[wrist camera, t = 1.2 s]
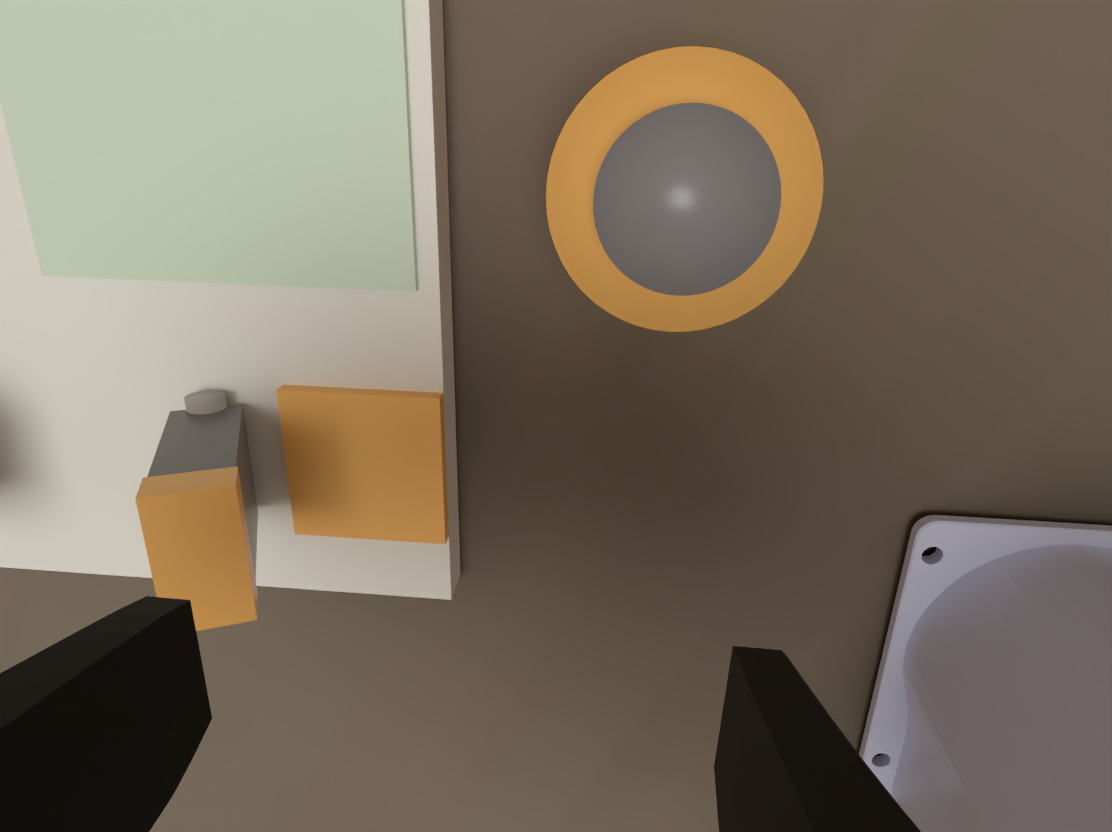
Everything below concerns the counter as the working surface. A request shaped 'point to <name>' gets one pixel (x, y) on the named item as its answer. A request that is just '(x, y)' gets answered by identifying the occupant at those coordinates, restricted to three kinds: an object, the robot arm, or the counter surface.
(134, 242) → the panel
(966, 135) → the counter surface
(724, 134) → the cap
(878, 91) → the counter surface
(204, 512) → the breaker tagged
